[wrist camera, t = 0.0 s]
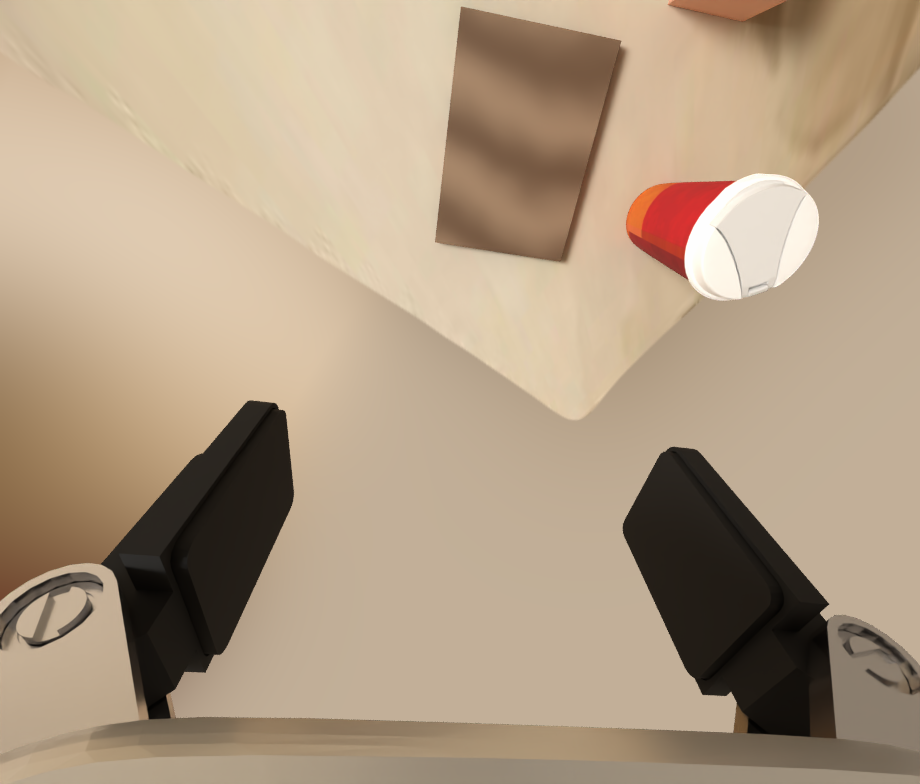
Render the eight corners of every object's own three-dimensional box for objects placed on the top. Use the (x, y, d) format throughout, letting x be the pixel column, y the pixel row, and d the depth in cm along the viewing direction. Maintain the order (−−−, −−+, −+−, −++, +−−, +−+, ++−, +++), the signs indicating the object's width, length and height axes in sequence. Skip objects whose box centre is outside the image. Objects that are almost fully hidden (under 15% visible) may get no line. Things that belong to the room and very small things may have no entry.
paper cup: (701, 242, 37) (822, 281, 25) (621, 272, 38) (699, 323, 26) (696, 152, 33) (835, 148, 21) (607, 189, 34) (691, 205, 22)
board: (460, 11, 28) (461, 6, 27) (616, 44, 29) (621, 40, 28) (435, 240, 36) (435, 242, 35) (557, 259, 37) (560, 261, 36)
